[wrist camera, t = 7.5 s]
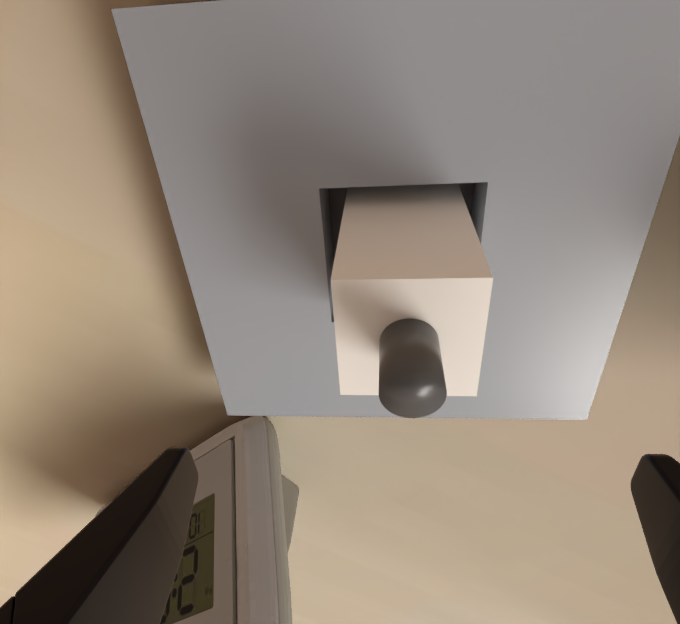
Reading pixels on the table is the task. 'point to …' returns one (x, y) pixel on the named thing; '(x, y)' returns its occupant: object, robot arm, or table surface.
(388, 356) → the plug
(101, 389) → the table surface
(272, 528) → the digital clock
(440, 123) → the socket plate
